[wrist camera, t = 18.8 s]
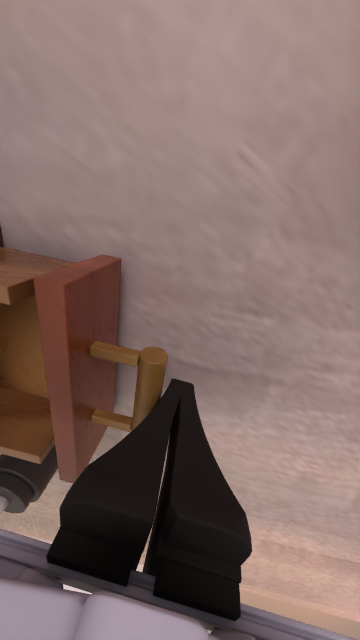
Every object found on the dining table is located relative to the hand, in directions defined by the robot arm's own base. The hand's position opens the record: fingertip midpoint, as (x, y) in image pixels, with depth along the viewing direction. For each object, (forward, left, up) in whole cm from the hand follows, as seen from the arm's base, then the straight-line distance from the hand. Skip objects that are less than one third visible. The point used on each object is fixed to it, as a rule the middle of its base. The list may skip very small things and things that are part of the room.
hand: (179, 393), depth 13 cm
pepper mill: (+11, -11, -3) cm, 16 cm away
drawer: (0, -9, -2) cm, 9 cm away
